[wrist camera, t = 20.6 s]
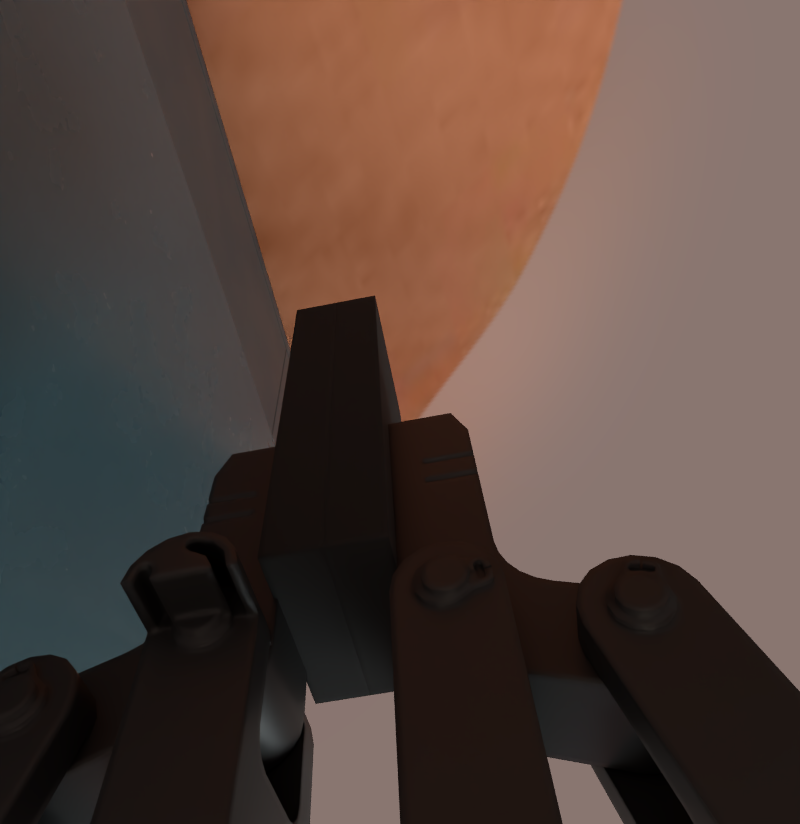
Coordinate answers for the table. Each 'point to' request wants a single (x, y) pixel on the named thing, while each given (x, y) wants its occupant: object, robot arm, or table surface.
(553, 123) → the table surface
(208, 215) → the dark teal hollow box
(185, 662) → the robot arm
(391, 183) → the table surface
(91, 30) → the lid
